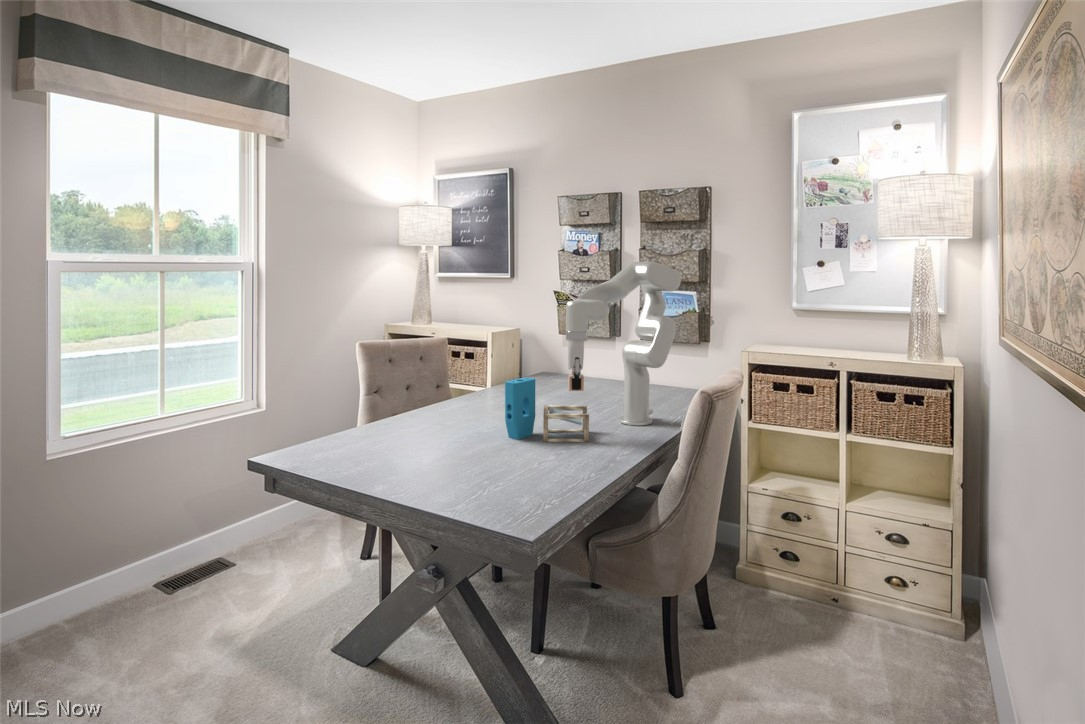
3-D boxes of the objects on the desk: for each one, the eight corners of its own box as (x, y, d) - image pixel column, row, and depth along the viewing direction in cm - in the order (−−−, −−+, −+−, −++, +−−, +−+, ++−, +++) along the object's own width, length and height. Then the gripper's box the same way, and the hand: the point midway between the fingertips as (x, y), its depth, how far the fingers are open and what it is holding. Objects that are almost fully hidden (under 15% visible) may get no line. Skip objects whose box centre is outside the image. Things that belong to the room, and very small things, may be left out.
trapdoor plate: (579, 418, 230) (581, 414, 230) (581, 425, 219) (582, 421, 219) (549, 409, 230) (550, 406, 229) (549, 416, 219) (550, 412, 219)
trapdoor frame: (586, 431, 233) (586, 405, 231) (588, 441, 218) (589, 414, 217) (544, 430, 233) (544, 405, 231) (543, 441, 218) (543, 414, 217)
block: (515, 440, 220) (514, 383, 217) (504, 438, 223) (503, 381, 220) (536, 433, 229) (536, 378, 226) (525, 431, 232) (525, 377, 229)
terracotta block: (582, 388, 225) (582, 374, 225) (583, 390, 220) (583, 376, 220) (568, 388, 225) (568, 374, 225) (569, 390, 220) (569, 376, 220)
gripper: (565, 334, 229) (564, 383, 231) (566, 338, 212) (566, 392, 214) (585, 334, 229) (585, 384, 231) (589, 339, 212) (588, 392, 214)
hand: (576, 387), depth 223 cm, fingers closed on terracotta block, 5 cm apart
